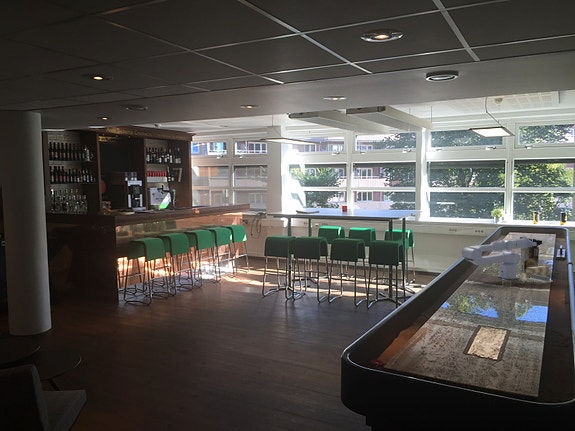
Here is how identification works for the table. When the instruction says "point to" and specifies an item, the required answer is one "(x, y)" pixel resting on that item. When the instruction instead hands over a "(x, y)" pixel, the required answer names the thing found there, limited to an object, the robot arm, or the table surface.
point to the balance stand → (540, 278)
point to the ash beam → (537, 271)
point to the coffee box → (529, 257)
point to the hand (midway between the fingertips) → (536, 241)
